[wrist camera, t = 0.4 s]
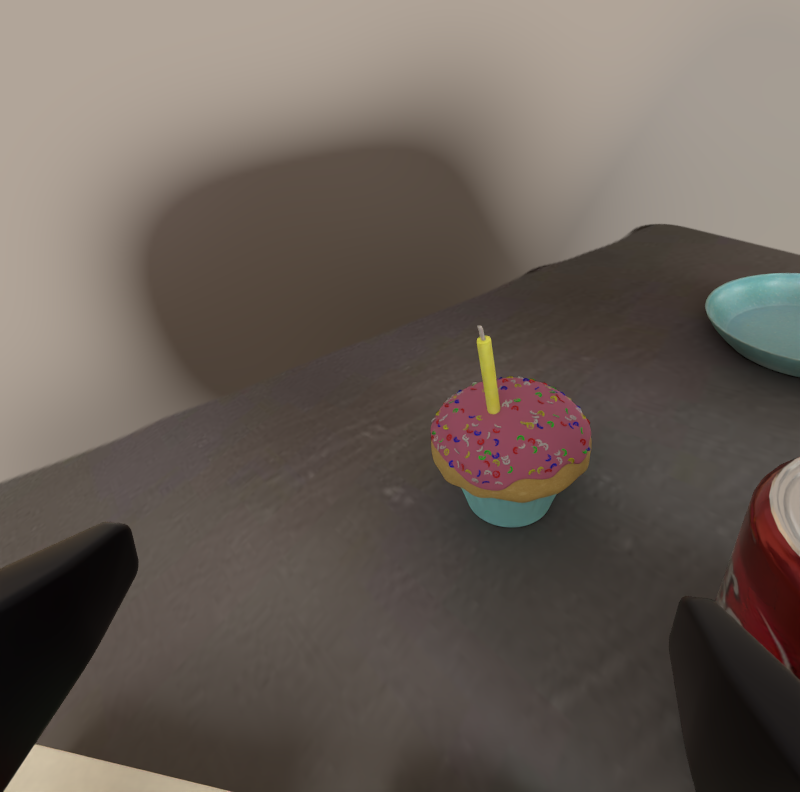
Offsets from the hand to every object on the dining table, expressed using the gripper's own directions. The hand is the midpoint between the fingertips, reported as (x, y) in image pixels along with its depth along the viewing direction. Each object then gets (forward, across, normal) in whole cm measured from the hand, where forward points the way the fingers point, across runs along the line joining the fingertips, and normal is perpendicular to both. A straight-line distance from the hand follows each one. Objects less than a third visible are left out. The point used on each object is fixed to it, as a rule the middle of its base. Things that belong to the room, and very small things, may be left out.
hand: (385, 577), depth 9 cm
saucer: (+38, -25, +8) cm, 47 cm away
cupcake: (+21, -3, +13) cm, 25 cm away
